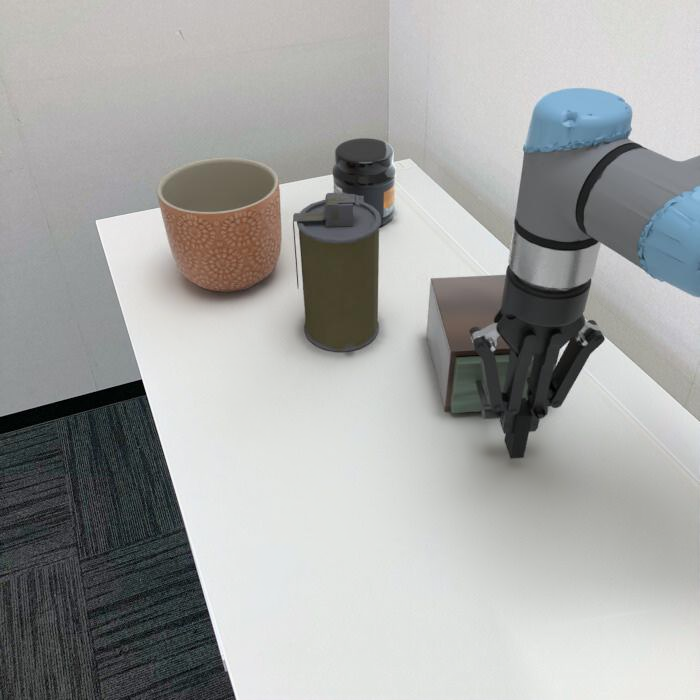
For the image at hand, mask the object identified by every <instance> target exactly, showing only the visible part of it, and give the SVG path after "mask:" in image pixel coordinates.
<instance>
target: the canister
mask: <svg viewBox="0 0 700 700" xmlns="http://www.w3.org/2000/svg"><path fill="white" fill-rule="evenodd" d="M359 200H360V198H359V196H358V195H356V196H355V194H338V193H334V192H327V193H326V194H325V198H324V199H322V200H319V201H315V202H313V203H310V204H309V205H307V206H306V207H304V208H302V209H301V210H300V211H299V212H294V213H293V215H292V231H293V243H294V257H295V272H296V284H297V288H299V286H300V285H299V274H298V272H299V271H298V257H297V245H296V231H295V222H296V225H297V228H298V237H299V250H300V252H299V253H300V265H301V279H302V293H303V306H304V320H305V322H304V325H303V331H304V334H305V337H306V339H308V340H309V342H311V344H313V345H314V346H316V347H318V348H321V349H322V350H323V349H324V350H326V351H331V352H351V351H355V350H359V349H361V348H363V347H365V346H367V345H369V344H371V343H372V342H373V341H374V340H375V338H376V337H377V336H378V334H379V330H380V323H379V314H378V313H379V264H380V263H379V262H380V261H379V260H380V259H379V258H380V227H381V225H380V224H381V217H380V213H379V212H378V211H377V210H376V209H375V208H374V207H373V206H371V205H369V204H367V203H365V202H362V201H359Z"/></svg>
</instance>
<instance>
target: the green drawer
mask: <svg viewBox="0 0 700 700" xmlns="http://www.w3.org/2000/svg"><path fill="white" fill-rule="evenodd" d="M494 356H495V359H496V364H497V370H498V377H499V383H500V389H501V391H502V392H503V389H504V384H505V378H506V372H507V367H508V361H509V355H494ZM533 359H534V355H533V356H532V361H531V365H530V366H528V371H527V376H526V381H525V386H524V390H523V395H522V398H526V400H527V399H528V398H527V390H528V385H529V379H530V374H531V369H532V364H533ZM554 369H555V365H554V368H553V371H554ZM552 373H553V372H552ZM450 408H451V411H450V412H451V413H452V414H456V413H459V414H460V413H475V412H480V413H481V416H482V417H481V418H482V419H483V420H493V419H495V420H496V419H500V418H501V411H502V410H501V411H499V412H494V411H492V409H491V406H490V403H489V400H488V396H487V393H486V388H485V382H484V377H483V371H482V365H481V360H480V356H473V357H468V356H457V357H456V358H455V367H454V376H453V384H452V393H451V402H450ZM544 410H545V412H546V416H547V415H548V413H549V407H546V408H544Z"/></svg>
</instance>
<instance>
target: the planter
mask: <svg viewBox="0 0 700 700" xmlns="http://www.w3.org/2000/svg"><path fill="white" fill-rule="evenodd" d="M280 190H281V189H280V181H279V176H278V174H277V172H276V171H275V170H274V169H273V168H271V167H270V166H268V165H267V164H265V163H262V162H261V161H257V160H253V159H250V158H243V157H232V156H227V157H226V156H223V157H222V156H221V157H210V158H204V159H200V160H195V161H191V162H188V163H185V164H182V165H180V166H178V167H176V168H174V169H172V170H171V171H169V172H168V173H167V174H165V175H164V176H163V177H162V178H161V179H160V181H159V182H158V184H157V187H156V194H157V200H158V205H159V209H160V213H161V217H162V221H163V225H164V230H165V233H166V238H167V241H168V245H169V248H170V252H171V255H172V257H173V260H174V262H175V265H176V267H177V269H178V270H179V272H180V273H181V274H182V275H183V276H184V277H185V278H186V279H187V280H188V281H189V282H191V283H193V284H194V285H197V287H200V288H203V289H206V290H209V291H213V292H219V293H220V292H221V293H222V292H223V293H229V292H231V293H232V292H237V291H242V290H246V289H249V288H251V287H253V286H255V285H257V284H258V283H260V282H261V281H263V280H265V279H266V278H267V277H268V276H269V275H270V274H271V273H272V272H273V270H274V269H275V267H276V266H277V264H278V262H279V259H280V256H281V250H282V239H283V238H282V237H283V236H282V235H283V234H282V233H283V232H282V212H281V211H282V210H281V209H282V208H281V191H280Z"/></svg>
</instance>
